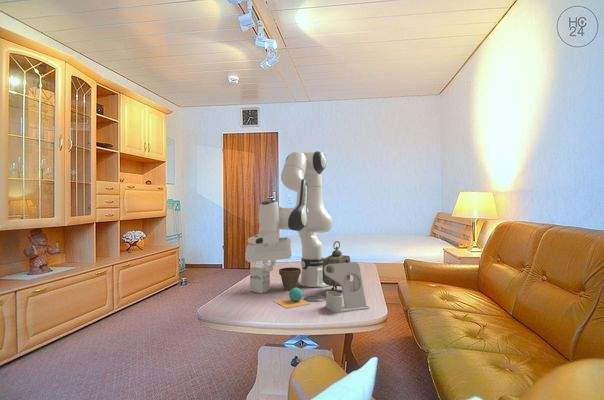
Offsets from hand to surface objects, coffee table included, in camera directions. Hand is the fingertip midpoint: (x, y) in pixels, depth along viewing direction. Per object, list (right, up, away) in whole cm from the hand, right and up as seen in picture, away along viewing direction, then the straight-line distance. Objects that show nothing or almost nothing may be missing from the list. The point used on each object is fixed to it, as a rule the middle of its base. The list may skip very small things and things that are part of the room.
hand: (269, 270), depth 141 cm
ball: (+11, -12, +7) cm, 18 cm away
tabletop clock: (+31, -16, +24) cm, 42 cm away
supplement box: (-7, -16, +26) cm, 31 cm away
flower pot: (+8, -16, +30) cm, 35 cm away
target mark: (+10, -15, +5) cm, 19 cm away
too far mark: (+20, -15, +12) cm, 28 cm away
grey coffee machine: (+33, -15, -1) cm, 36 cm away
